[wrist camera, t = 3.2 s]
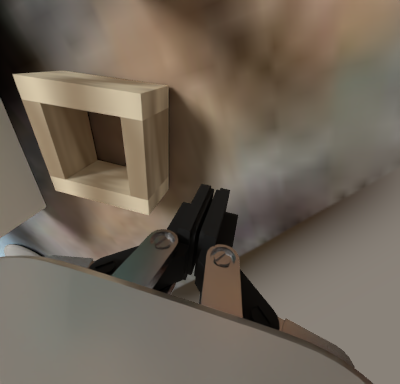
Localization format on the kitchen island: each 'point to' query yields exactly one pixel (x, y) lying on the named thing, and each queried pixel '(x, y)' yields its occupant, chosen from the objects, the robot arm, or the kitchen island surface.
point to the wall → (15, 180)
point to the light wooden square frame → (83, 141)
